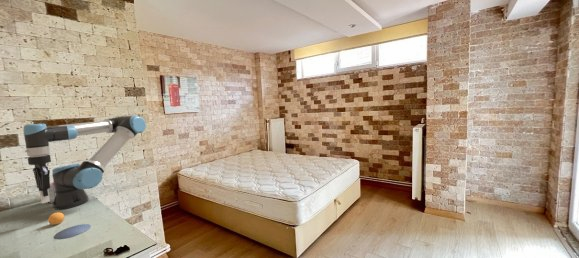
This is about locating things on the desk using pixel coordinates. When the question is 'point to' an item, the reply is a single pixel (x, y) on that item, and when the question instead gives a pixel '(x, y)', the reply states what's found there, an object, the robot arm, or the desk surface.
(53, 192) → the supplement box
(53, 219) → the ball
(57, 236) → the disc
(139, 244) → the desk surface
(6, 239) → the desk surface
